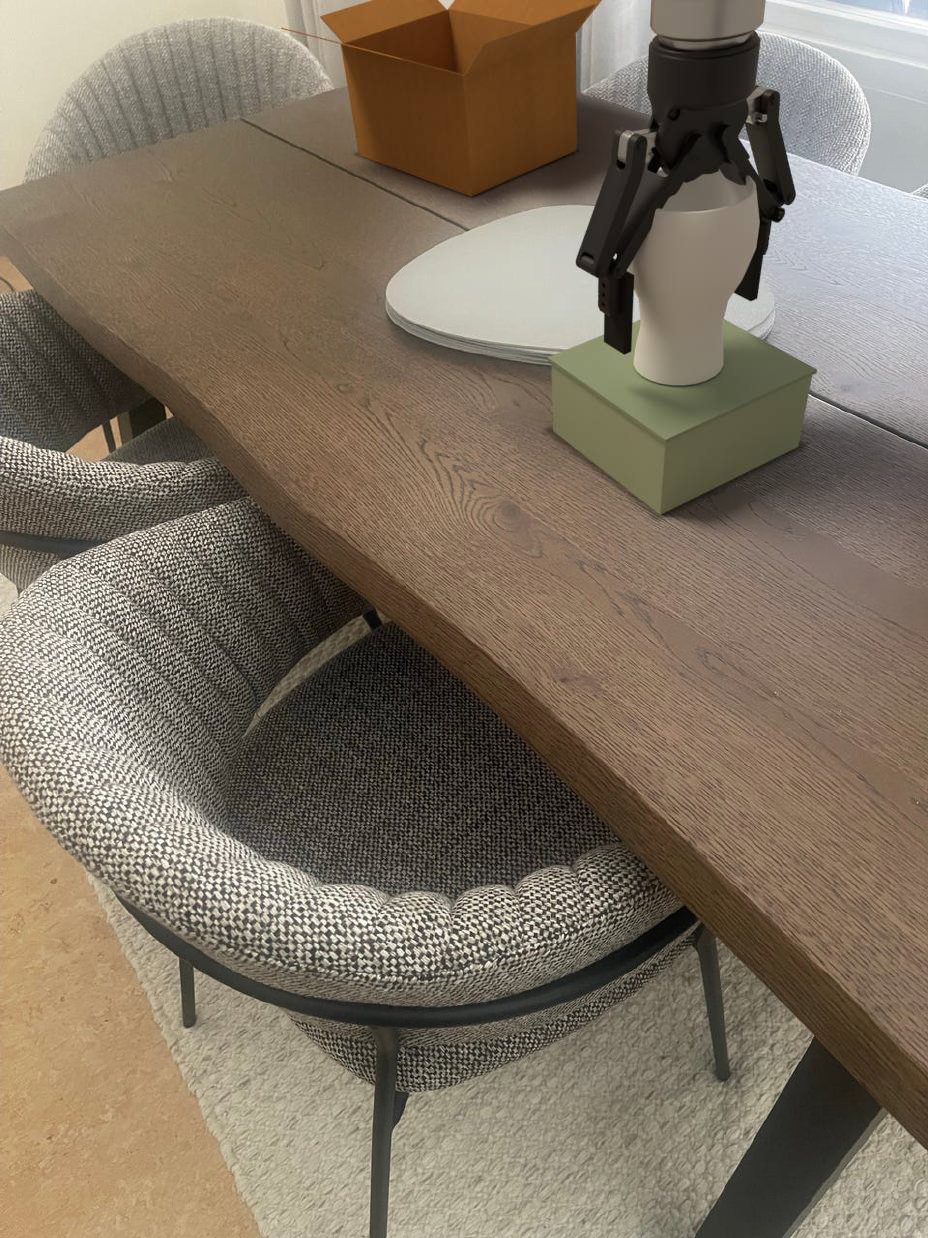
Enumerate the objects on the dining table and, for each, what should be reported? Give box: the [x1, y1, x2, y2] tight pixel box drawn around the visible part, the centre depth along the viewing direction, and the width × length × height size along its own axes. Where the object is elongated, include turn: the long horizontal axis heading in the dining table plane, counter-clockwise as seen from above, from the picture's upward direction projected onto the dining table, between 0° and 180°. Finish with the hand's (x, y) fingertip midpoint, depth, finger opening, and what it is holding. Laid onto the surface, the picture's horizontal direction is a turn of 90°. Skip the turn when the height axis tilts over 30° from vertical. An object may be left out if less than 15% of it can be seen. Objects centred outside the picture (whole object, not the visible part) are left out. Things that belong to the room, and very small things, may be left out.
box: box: [280, 0, 603, 197], centre depth 137 cm, size 39×37×21 cm
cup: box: [627, 167, 760, 385], centre depth 77 cm, size 11×11×15 cm
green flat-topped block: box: [547, 318, 818, 516], centre depth 85 cm, size 16×16×8 cm
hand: (681, 320), depth 79 cm, fingers open, 13 cm apart
